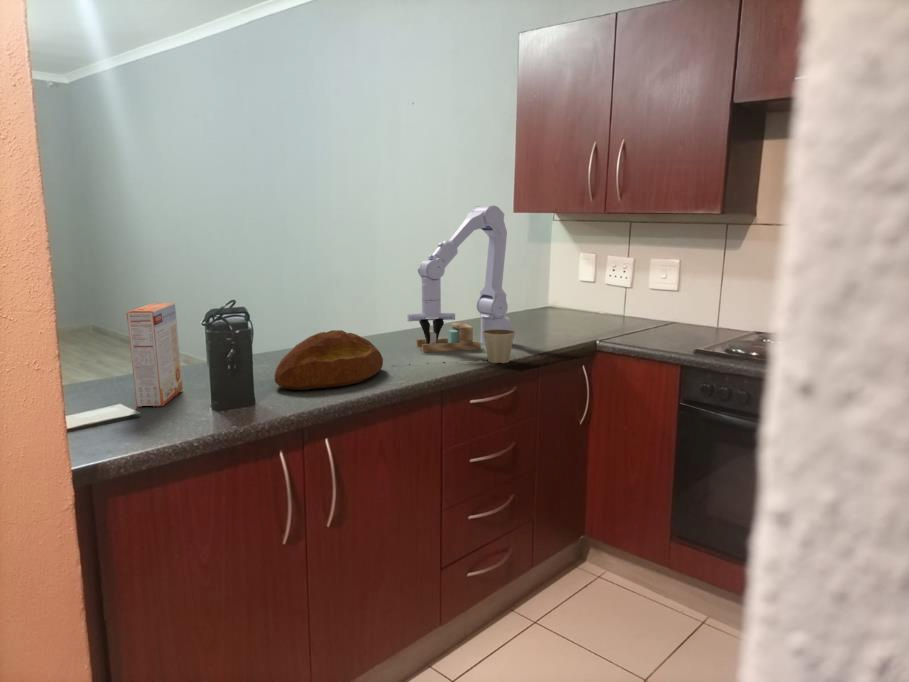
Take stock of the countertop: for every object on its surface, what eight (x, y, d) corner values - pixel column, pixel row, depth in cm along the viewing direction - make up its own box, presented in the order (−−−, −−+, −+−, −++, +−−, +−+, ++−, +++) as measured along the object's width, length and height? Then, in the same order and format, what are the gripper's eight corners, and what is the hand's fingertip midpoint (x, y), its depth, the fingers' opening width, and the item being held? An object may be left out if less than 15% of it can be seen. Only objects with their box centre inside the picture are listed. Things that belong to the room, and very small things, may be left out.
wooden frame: (471, 346, 210) (471, 322, 209) (480, 351, 201) (480, 327, 199) (416, 348, 206) (416, 324, 205) (422, 354, 196) (422, 329, 195)
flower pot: (518, 359, 189) (519, 329, 188) (510, 366, 181) (511, 335, 179) (487, 357, 193) (487, 328, 191) (478, 363, 184) (478, 333, 182)
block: (461, 343, 206) (461, 329, 206) (465, 345, 202) (465, 331, 201) (447, 344, 205) (447, 329, 204) (451, 346, 201) (451, 332, 200)
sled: (463, 344, 208) (463, 328, 207) (469, 348, 201) (469, 332, 200) (426, 346, 205) (426, 330, 204) (431, 350, 198) (431, 333, 198)
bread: (251, 385, 160) (249, 335, 158) (355, 364, 184) (354, 320, 182) (303, 400, 147) (301, 345, 144) (408, 375, 171) (407, 328, 169)
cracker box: (157, 391, 153) (149, 302, 150) (183, 391, 154) (177, 302, 150) (133, 408, 140) (124, 310, 136) (162, 407, 140) (154, 310, 136)
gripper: (451, 297, 205) (451, 340, 207) (405, 298, 201) (406, 342, 204) (456, 300, 198) (456, 344, 200) (409, 301, 195) (410, 346, 197)
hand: (431, 343), depth 202 cm, fingers closed on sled, 2 cm apart
